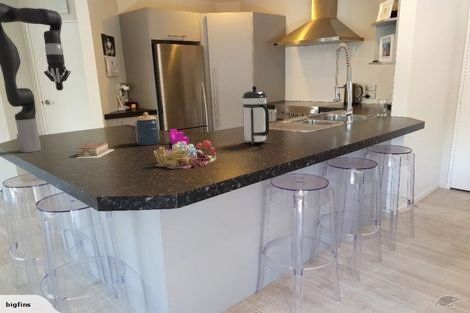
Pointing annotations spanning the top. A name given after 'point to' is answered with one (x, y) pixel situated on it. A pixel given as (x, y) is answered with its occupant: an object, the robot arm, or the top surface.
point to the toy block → (177, 137)
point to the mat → (96, 156)
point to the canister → (147, 130)
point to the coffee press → (255, 116)
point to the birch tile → (92, 149)
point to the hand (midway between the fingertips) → (60, 90)
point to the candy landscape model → (185, 155)
